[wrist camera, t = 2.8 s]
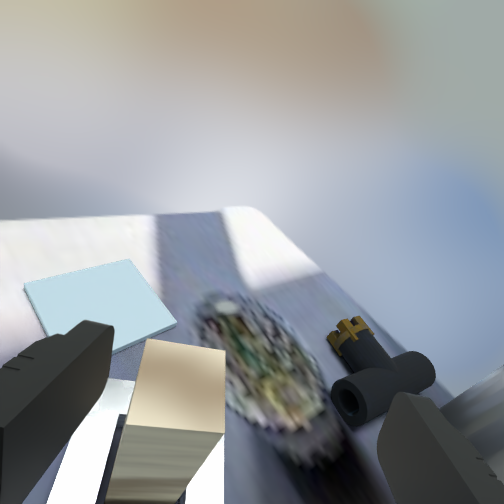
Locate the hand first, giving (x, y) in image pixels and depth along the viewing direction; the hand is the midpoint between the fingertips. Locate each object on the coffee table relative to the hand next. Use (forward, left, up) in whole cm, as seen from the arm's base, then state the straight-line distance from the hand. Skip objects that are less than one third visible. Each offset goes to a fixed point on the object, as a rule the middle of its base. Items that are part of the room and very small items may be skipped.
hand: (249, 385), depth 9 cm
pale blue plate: (+21, -7, -23) cm, 32 cm away
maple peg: (+4, -3, -23) cm, 24 cm away
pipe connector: (-3, -31, -24) cm, 39 cm away
